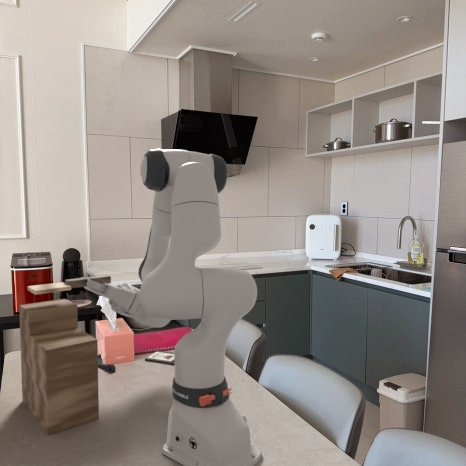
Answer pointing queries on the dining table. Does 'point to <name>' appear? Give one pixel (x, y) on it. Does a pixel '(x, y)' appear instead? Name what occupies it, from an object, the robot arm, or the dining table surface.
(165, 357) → the chocolate bar
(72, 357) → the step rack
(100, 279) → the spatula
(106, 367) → the dark grey t-shaped piece
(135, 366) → the dining table surface
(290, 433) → the dining table surface
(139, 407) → the dining table surface
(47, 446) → the dining table surface
